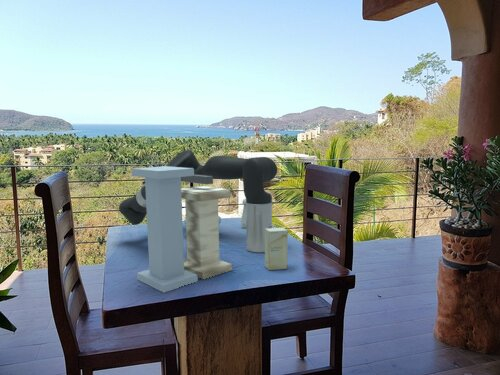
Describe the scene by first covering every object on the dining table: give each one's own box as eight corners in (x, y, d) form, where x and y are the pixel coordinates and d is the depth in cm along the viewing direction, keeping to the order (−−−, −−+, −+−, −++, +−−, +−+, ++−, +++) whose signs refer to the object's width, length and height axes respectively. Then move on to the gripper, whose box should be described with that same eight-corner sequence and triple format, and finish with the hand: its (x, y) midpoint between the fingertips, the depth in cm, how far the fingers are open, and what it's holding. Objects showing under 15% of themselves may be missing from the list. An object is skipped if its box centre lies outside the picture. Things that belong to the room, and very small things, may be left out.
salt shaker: (252, 229, 172) (252, 200, 170) (240, 228, 173) (239, 199, 171) (255, 226, 178) (254, 198, 176) (242, 225, 179) (242, 197, 177)
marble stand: (175, 268, 121) (172, 188, 118) (204, 260, 128) (201, 185, 125) (203, 279, 111) (200, 193, 108) (232, 270, 118) (230, 189, 115)
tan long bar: (159, 178, 131) (159, 172, 131) (165, 178, 132) (164, 171, 132) (207, 184, 112) (206, 176, 112) (213, 183, 114) (212, 176, 114)
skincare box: (268, 270, 118) (268, 231, 116) (264, 266, 122) (263, 228, 120) (288, 268, 119) (288, 230, 118) (283, 264, 124) (283, 226, 122)
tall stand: (137, 279, 112) (131, 168, 108) (170, 270, 119) (166, 166, 115) (163, 292, 102) (158, 171, 98) (197, 281, 109) (193, 168, 105)
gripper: (129, 186, 135) (150, 162, 123) (164, 182, 144) (186, 160, 132) (135, 205, 133) (157, 183, 121) (170, 200, 142) (193, 180, 130)
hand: (172, 171), depth 127 cm, fingers closed on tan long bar, 2 cm apart
